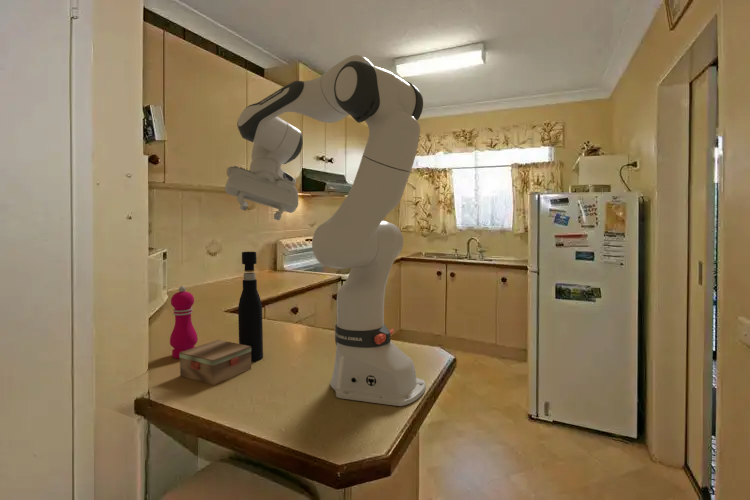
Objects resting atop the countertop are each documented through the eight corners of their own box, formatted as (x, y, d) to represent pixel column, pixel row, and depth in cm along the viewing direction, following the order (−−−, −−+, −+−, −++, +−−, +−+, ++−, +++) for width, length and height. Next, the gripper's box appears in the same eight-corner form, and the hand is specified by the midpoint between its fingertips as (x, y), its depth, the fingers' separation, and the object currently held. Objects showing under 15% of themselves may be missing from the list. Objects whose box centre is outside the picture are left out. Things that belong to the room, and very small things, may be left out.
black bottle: (267, 356, 116) (265, 251, 114) (252, 363, 110) (249, 253, 108) (250, 353, 119) (248, 250, 117) (234, 360, 113) (231, 252, 111)
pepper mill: (187, 360, 113) (185, 288, 112) (164, 358, 115) (162, 287, 113) (203, 351, 120) (201, 284, 119) (181, 350, 122) (179, 283, 120)
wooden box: (253, 369, 106) (252, 346, 106) (213, 386, 95) (213, 361, 95) (219, 361, 112) (218, 339, 112) (178, 376, 101) (177, 353, 101)
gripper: (231, 156, 111) (225, 195, 104) (301, 181, 121) (300, 217, 113) (225, 171, 115) (218, 209, 108) (292, 193, 125) (291, 229, 118)
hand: (260, 213), depth 111 cm, fingers open, 8 cm apart
